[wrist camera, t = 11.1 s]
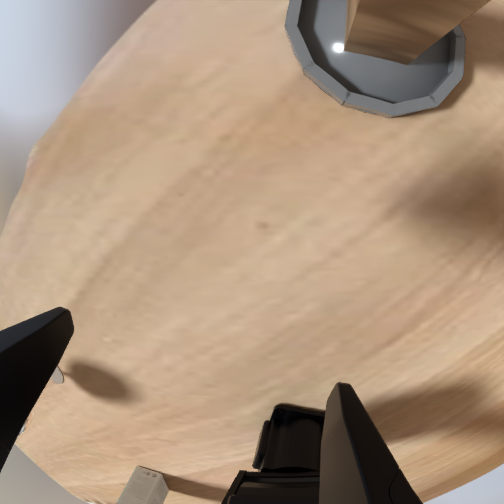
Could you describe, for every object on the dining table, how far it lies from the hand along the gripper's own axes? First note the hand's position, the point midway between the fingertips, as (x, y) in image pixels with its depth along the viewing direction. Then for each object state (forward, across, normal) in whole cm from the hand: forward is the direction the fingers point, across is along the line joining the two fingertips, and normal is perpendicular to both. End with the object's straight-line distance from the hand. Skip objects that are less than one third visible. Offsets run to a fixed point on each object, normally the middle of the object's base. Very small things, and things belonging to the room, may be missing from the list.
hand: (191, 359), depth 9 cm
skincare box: (+9, +8, +41) cm, 42 cm away
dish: (+14, -5, -14) cm, 20 cm away
